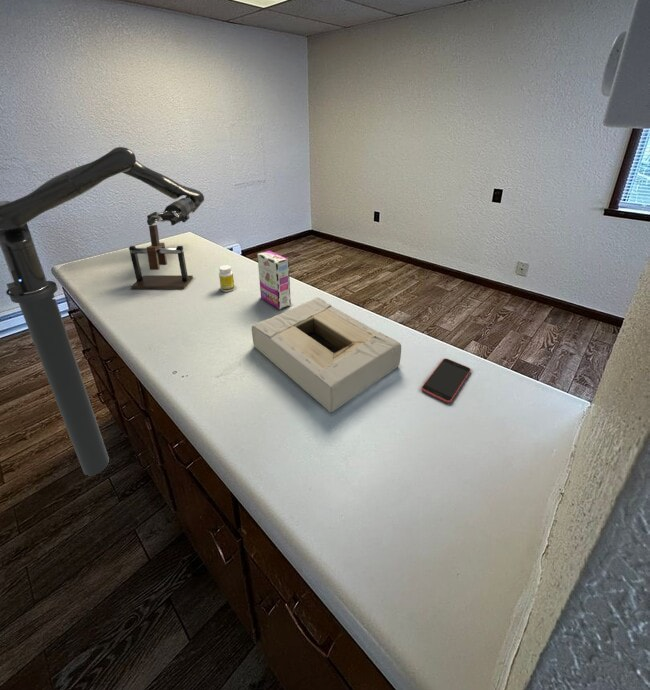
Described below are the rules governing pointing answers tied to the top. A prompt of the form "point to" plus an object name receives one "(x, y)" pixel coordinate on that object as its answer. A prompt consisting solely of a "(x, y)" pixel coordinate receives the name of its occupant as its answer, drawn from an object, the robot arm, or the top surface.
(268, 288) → the candy bar box
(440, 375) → the smartphone
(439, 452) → the top surface
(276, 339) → the box
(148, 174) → the robot arm
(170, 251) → the rack
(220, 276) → the supplement bottle
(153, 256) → the brown u-shaped bracket
